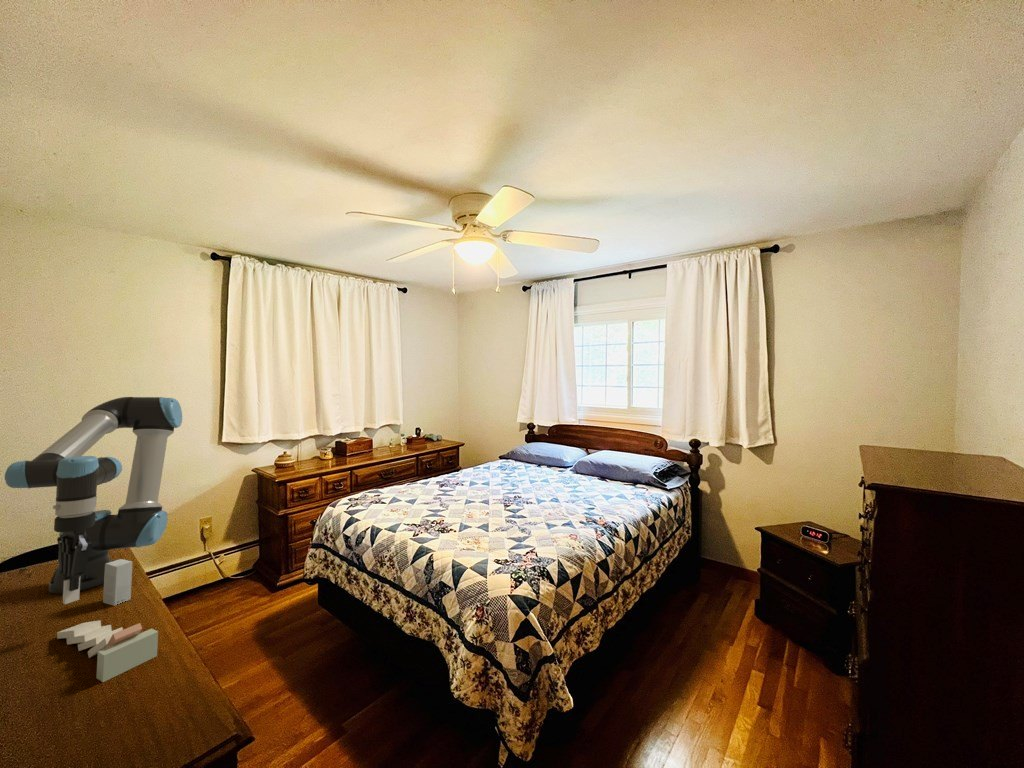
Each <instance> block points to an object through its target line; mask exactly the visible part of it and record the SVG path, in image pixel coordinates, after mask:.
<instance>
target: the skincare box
mask: <svg viewBox="0 0 1024 768" xmlns="http://www.w3.org/2000/svg"><path fill="white" fill-rule="evenodd" d="M132 578H133V561H132V560H127V559H124V558H123V559H122V558H119V559H116V560H112V561H111V562H109V563H106V564H105V574H104V584H103V593H102V594H103V595H102V596H103V597H102V603H104V604H106V605H110V606H118V605H120V603H121V604H123V603H125V601H126V602H127V601H130V600H132V599H131V597H132V582H133V581H132ZM122 602H123V603H122ZM117 604H118V605H117Z"/></svg>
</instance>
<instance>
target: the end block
mask: <svg viewBox="0 0 1024 768" xmlns="http://www.w3.org/2000/svg"><path fill="white" fill-rule="evenodd" d="M158 643H159V631H158V630H156V629H154V628H149V629H147V630H145V631H142V632H140V633H139V634H138V635H135V636H133V637H131V638H128V639H126V640H124V641H121V642H119V643H117V644H114V645H112V646H110V647H107V648H105V649H103V650H100V651H98V654H97V661H96V678H95V679H97V680H98V681H99V682H102V683H104V682H106V681H108V680H111V679H112V678H115V677H116V676H119V675H121V674H124V673H125V672H127V671H130V670H131V669H134V668H136V667H138V666H139V665H142V664H144V663H146V662H148V661H149V660H152V659H154V658H156V657H158Z"/></svg>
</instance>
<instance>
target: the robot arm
mask: <svg viewBox="0 0 1024 768" xmlns="http://www.w3.org/2000/svg"><path fill="white" fill-rule="evenodd" d="M182 422H183V411H182V407H181V404H180V402H179V401H178V400H177V399H176V398H173V397H163V396H157V397H156V396H150V397H149V396H145V397H144V396H142V397H141V396H123V397H118V398H114V399H111V400H108V401H105V402H102V403H101V404H98V405H97V406H96V405H95V406H94V407H93V408H91V409H89V410H88V411H87V412H86V413H84V414H83V415H82V417H81V421H80V422H78V423H77V424H76V425H75V426H74V427H72V428H71V429H70V430H68V431H67V432H66V433H65V434H64V435H62V436H61V437H59V438H58V439H57V440H56V441H55V442H53V443H52V444H51V445H49V447H47V448H46V449H45V450H43V451H42V452H41V453H39V455H38V456H36V457H35V458H33V459H32V460H20V461H16V462H15V461H14V462H12V463H11V464H9V466H8V467H6V470H5V471H4V472H5V473H4V481H5V484H6V486H8V487H9V488H12V489H34V488H35V489H38V488H50V487H52V488H53V487H56V491H55V492H56V495H55V504H54V505H52V509H54V510H55V512H54V515H55V516H56V517H55V518H54V525H53V530H54V532H56V533H59V534H58V536H59V537H57V539H56V541H57V544H58V562H57V567H56V568H55V570H54V573H53V575H52V577H51V578H50V581H49V583H48V592H49V593H51V594H62V604H64V605H67V604H70V603H74V602H76V601H79V600H80V593H81V592H82V591H84V590H89V589H92V588H95V587H99V586H101V585H104V574H105V564H106V563H109V562H112V560H111V558H110V555H109V552H110V550H120V549H130V548H132V549H133V548H142V547H148V546H149V547H150V546H152V545H154V544H156V543H157V542H158V541H159V540H161V538H162V536H163V535H164V533H165V530H166V529H167V525H168V520H169V519H168V518H169V517H168V516H169V515H168V511H165V510H163V505H162V504H161V503H160V502H159V497H160V489H161V482H162V477H163V469H164V463H165V455H166V450H167V442H168V438H169V437H170V436H171V435H172V434H174V433H175V431H174V430H175V429H177V428H180V427H181V425H182ZM117 429H132V431H131V432H132V433H133V434H134V435H135V436H136V441H135V442H136V443H135V446H134V453H133V459H132V463H131V468H130V469H131V470H130V476H129V480H128V487H127V493H126V499H125V503H124V504H123V505H121V506H120V507H119V508H118V512H117V514H112V511H111V510H110V509H101V510H96V509H97V499H98V498H97V497H98V496H97V491H98V487H97V486H99V485H102V484H104V483H105V484H106V483H110V482H112V480H115V479H117V478H118V477H119V476H120V474H121V473H122V470H123V465H122V462H121V461H120V460H119V459H117V458H115V457H112V456H104V457H102V456H100V457H97V456H94V455H85V454H86V453H87V452H88V451H89V450H90V449H91V448H92V447H93V446H94V445H95V444H96V443H97V442H98V441H100V440H101V439H102V438H103V437H104V436H105V435H107V434H111V433H113V432H114V431H116V430H117ZM80 591H81V592H80Z"/></svg>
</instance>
